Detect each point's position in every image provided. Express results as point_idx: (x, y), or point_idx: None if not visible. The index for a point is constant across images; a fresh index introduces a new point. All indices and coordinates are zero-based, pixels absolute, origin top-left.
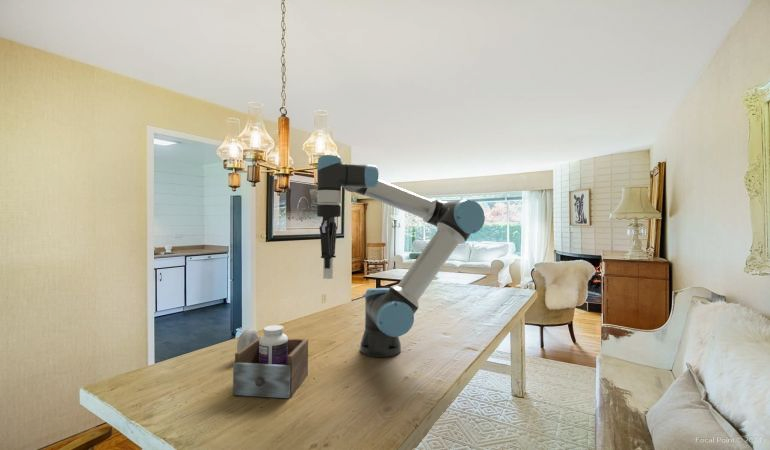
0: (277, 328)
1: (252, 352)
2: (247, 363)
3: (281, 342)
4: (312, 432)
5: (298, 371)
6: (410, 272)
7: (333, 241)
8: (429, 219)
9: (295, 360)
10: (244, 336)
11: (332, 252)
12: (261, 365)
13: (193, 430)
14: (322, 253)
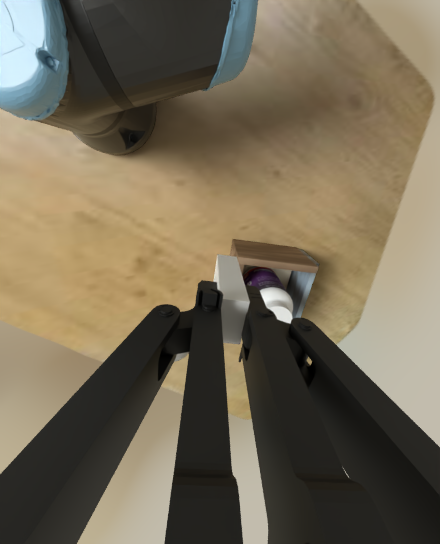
0: (280, 314)
1: None
2: (297, 317)
3: (288, 294)
4: (379, 208)
5: (277, 251)
6: None
7: (193, 399)
8: None
9: (297, 260)
10: (182, 353)
11: (221, 324)
12: (306, 300)
13: (343, 317)
14: (309, 368)
